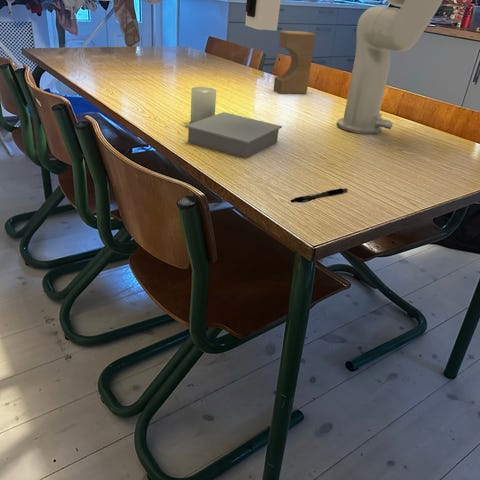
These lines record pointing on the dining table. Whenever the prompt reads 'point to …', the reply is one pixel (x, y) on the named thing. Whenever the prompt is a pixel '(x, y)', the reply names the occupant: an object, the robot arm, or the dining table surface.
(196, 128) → the podium
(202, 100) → the grey cylinder
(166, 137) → the dining table surface
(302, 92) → the decorative block
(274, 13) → the carton
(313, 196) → the pen
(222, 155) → the dining table surface
